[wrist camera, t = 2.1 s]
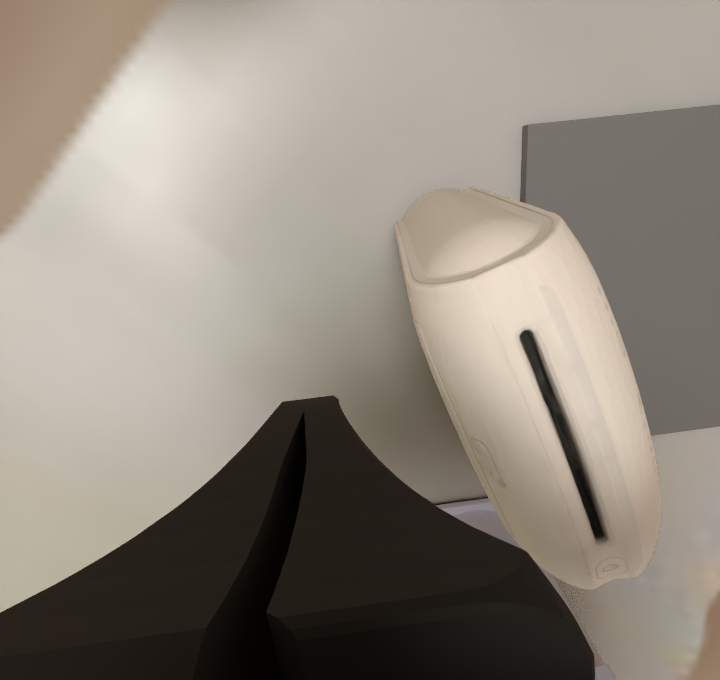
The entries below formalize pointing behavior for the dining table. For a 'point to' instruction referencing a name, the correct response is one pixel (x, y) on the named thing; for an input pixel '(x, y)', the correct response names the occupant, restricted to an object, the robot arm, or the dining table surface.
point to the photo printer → (534, 380)
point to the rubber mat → (646, 242)
